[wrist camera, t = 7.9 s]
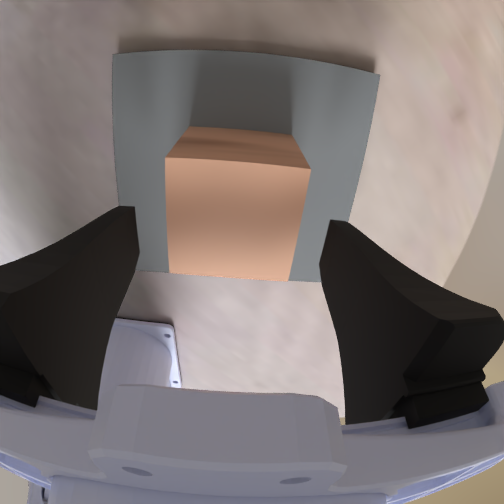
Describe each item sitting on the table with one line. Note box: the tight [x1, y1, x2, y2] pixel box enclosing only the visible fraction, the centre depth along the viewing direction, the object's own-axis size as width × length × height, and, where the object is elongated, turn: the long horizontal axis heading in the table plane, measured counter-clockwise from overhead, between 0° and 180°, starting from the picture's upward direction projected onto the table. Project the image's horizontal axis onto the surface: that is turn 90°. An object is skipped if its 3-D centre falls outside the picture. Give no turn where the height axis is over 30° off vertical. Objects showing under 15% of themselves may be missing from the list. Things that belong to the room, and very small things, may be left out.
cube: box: [165, 126, 311, 281], centre depth 14 cm, size 5×5×5 cm
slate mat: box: [112, 50, 380, 282], centre depth 16 cm, size 13×13×1 cm
